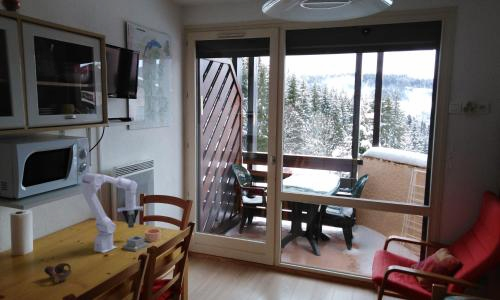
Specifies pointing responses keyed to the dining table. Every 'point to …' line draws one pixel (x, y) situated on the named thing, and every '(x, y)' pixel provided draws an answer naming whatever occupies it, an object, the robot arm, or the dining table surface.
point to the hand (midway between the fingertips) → (130, 222)
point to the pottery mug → (58, 271)
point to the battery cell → (130, 220)
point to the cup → (153, 235)
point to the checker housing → (135, 243)
